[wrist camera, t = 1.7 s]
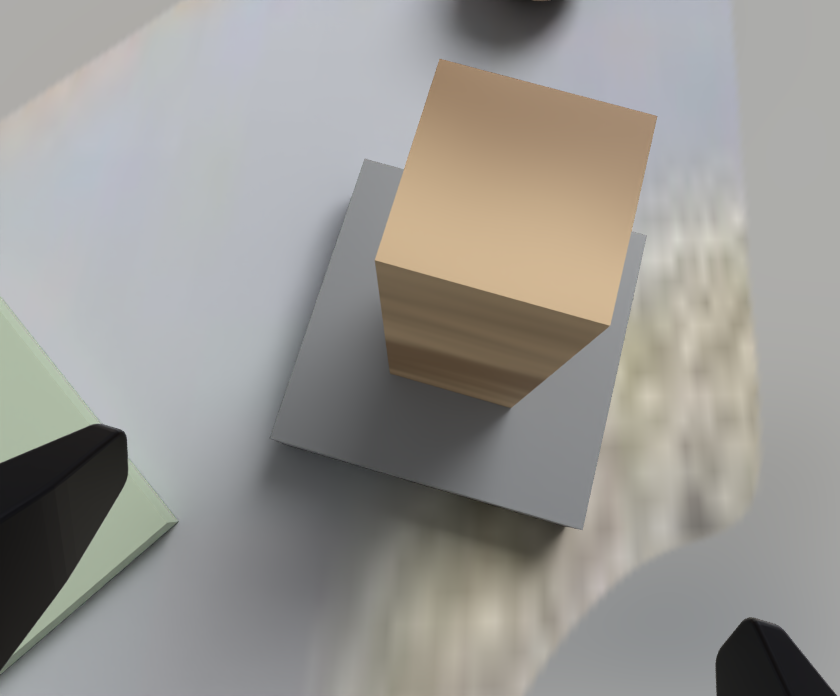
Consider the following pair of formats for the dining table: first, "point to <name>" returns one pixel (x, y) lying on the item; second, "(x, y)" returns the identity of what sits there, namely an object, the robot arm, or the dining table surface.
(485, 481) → the grey block
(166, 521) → the sage mat
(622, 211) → the oak block
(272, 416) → the dining table surface
